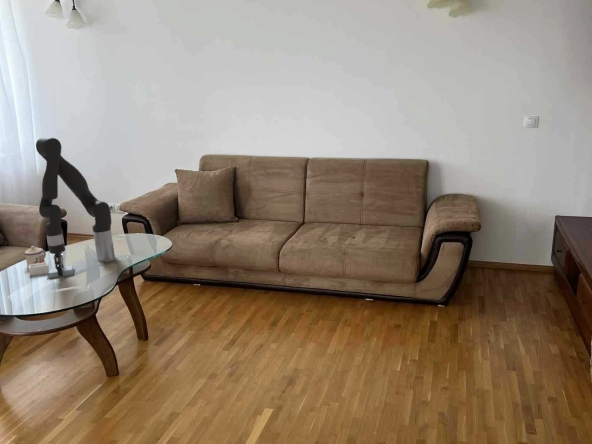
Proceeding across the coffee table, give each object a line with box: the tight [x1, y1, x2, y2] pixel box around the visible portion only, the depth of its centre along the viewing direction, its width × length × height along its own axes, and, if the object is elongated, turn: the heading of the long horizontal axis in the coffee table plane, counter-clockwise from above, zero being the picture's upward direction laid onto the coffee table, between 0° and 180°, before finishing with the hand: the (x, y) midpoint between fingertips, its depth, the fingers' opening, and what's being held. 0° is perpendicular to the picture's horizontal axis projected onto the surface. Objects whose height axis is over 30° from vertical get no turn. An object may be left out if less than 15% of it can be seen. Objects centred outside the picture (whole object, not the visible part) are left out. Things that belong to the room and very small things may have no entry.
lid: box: [49, 265, 74, 278], centre depth 284 cm, size 11×6×3 cm, turn 108°
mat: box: [46, 268, 76, 280], centre depth 285 cm, size 13×10×1 cm
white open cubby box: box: [27, 261, 50, 276], centre depth 288 cm, size 9×6×5 cm, turn 109°
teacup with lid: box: [24, 245, 47, 268], centre depth 299 cm, size 12×9×12 cm
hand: (61, 272), depth 284 cm, fingers open, 8 cm apart
